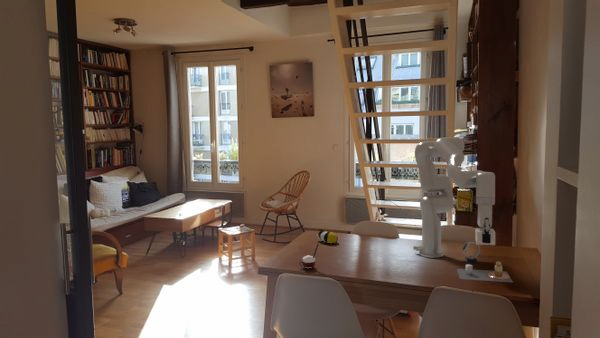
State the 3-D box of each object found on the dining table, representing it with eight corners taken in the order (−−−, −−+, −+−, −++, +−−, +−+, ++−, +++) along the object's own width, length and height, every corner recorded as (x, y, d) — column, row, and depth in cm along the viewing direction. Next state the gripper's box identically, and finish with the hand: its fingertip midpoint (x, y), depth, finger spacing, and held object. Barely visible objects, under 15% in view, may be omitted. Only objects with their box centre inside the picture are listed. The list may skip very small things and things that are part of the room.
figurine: (322, 239, 262) (321, 226, 262) (340, 243, 252) (340, 229, 251) (313, 241, 256) (312, 228, 256) (331, 246, 246) (331, 232, 245)
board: (459, 282, 182) (459, 269, 182) (456, 271, 195) (456, 260, 195) (513, 285, 176) (513, 272, 176) (506, 274, 190) (506, 262, 189)
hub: (488, 278, 181) (489, 264, 181) (485, 272, 190) (485, 258, 189) (511, 280, 179) (512, 265, 178) (507, 273, 187) (507, 259, 187)
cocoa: (298, 270, 205) (296, 246, 204) (303, 265, 211) (301, 242, 210) (317, 270, 202) (315, 246, 201) (321, 266, 208) (319, 242, 206)
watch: (461, 262, 209) (461, 240, 208) (478, 262, 208) (478, 240, 207) (463, 265, 204) (463, 243, 203) (480, 266, 202) (481, 243, 202)
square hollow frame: (477, 244, 182) (477, 231, 181) (475, 240, 189) (475, 228, 188) (495, 245, 180) (495, 232, 179) (492, 241, 187) (492, 228, 186)
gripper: (474, 197, 192) (473, 235, 194) (478, 203, 176) (477, 245, 177) (492, 197, 190) (491, 236, 191) (497, 203, 173) (497, 246, 175)
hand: (485, 240), depth 184 cm, fingers closed on square hollow frame, 7 cm apart
